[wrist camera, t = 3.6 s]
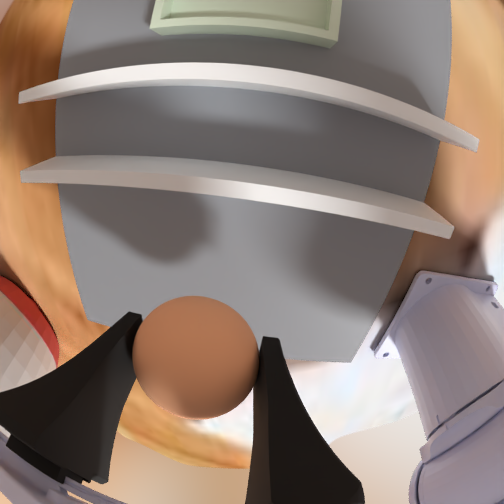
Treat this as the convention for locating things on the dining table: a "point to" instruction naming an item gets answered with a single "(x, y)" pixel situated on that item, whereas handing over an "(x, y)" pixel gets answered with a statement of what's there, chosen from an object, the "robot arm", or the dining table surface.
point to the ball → (195, 357)
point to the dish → (251, 19)
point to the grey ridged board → (249, 165)
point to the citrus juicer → (23, 340)
